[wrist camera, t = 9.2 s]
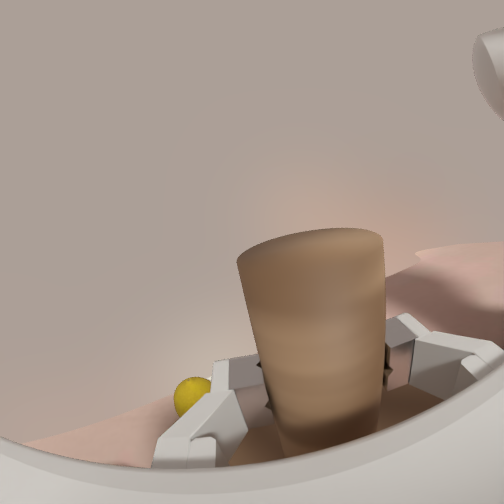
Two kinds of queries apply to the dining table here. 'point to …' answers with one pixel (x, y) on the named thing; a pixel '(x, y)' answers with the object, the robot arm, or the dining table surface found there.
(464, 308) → the dining table surface
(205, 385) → the lemon
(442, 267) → the dining table surface
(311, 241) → the lid
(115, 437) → the dining table surface
